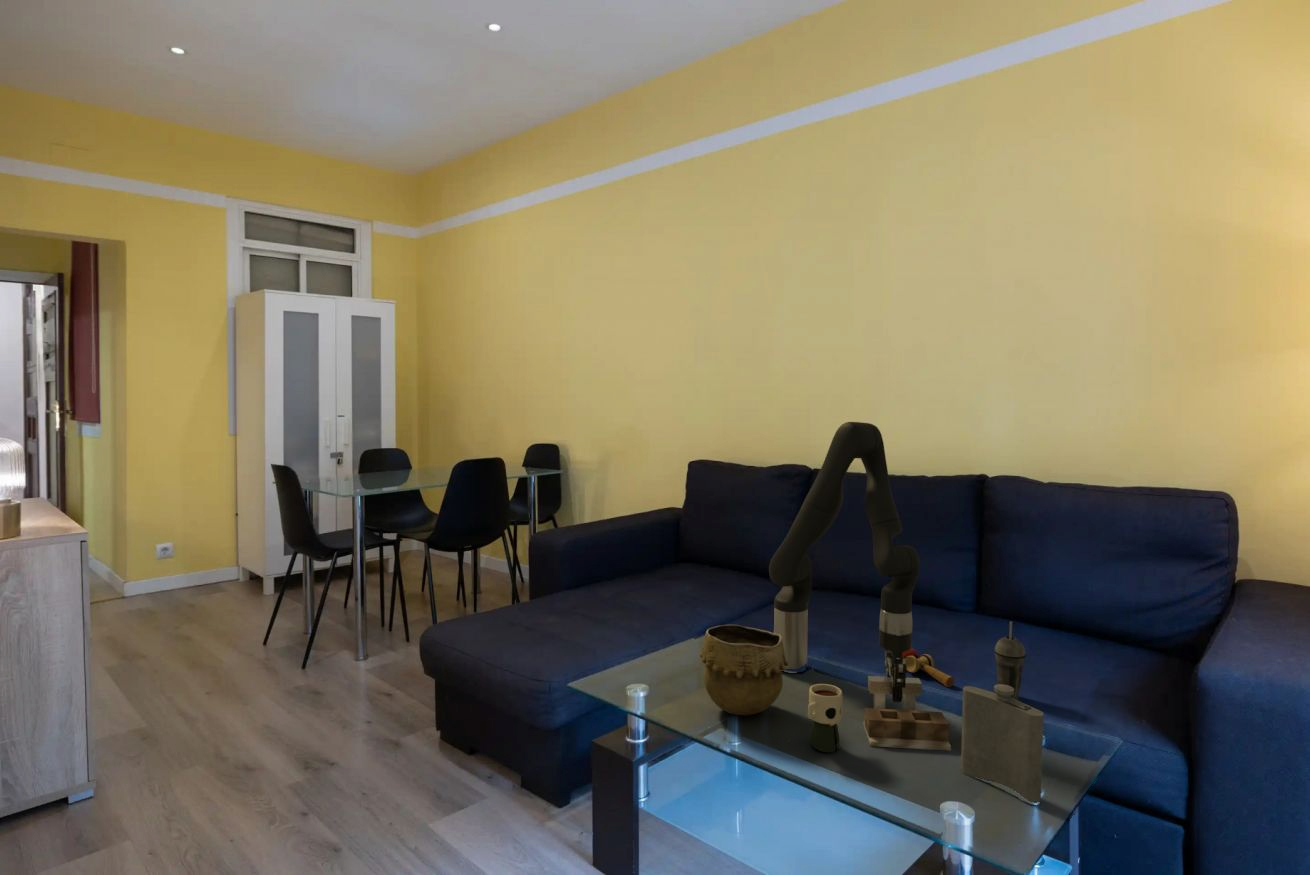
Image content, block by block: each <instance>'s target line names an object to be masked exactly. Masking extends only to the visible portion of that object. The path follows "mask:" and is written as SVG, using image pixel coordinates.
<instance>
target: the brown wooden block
mask: <svg viewBox="0 0 1310 875" xmlns="http://www.w3.org/2000/svg"><path fill="white" fill-rule="evenodd" d="M862 722H863V728H864V731H865V735H866V736H867V740H868V743H869V746H870V747H882V748H883V747H884V748H885V747H886V748H901V749H916V750H919V749H920V750H935V751H936V750H937V751H949V752H951V751H952V746H951V744H950V742H949V736H950V735H949V731H950V730H949V729H950V726H949V725H950V724H949V722H948V720H947V719H946V717H945V715H944V713H943V711H933V710H915V711H914V710H903V709H892V708H891V709H889V708H885V709H875V708H872V707H864V720H863V721H862Z"/></svg>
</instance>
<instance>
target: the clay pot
mask: <svg viewBox="0 0 1310 875" xmlns="http://www.w3.org/2000/svg"><path fill="white" fill-rule="evenodd" d="M701 648H702V649H701V651H700V653H699V657H700V659H701V661H702V663H703V664H705V668H704V669H705V670H704V676H703V677H704V678H703V680H704V686H705V690H706V692H707V694H708V697H710V699H711V700H712V702H713V703H714V704H715V705H716V706H717V707H718V708H719V709H721V710H722V711H724V712H726V713H728V714H730V715H734V716H735V715H736V716H753V715H755V714H758V713H761V712H764V711H765V710H768V708H769V707H770V706H772V705H773V704H774V703H775V701H776V700H777V699H778V697H779V696H780V694H781V692H782V689H783V682H784V681H783V675H782V674H783V672H781V670H782V671H784V670H785V666H788V664H789V663H788V662H787V661H786V658H785V654H784V646H783V641H782V637H781V635H780V634H774V632H771V631H768V630H763V629H759V628H754V627H747V626H743V625H739V624H722V625H721V624H720V625H717V626H712V627H710V628H708V629H706V631H705V635H704V639H703V644H702V647H701Z"/></svg>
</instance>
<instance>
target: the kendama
mask: <svg viewBox="0 0 1310 875" xmlns="http://www.w3.org/2000/svg"><path fill="white" fill-rule="evenodd" d="M903 657H905V664H906V666H907V668H906V671H907V672H908V673H909V672H910V673H916V672H918V670H920V671H922V672H924V673H927V674H928V675H929V676H931V677H932V678H933V679H935V680H937V681H938V682H939V683H941V684H942V685H944V686H945V687H946V688H950V687H952V686H953V684H954V681H955V679H954V677H952V676H951V675H949V674H946V673H944V672H943V671H940V670H939V669H938V668H935V661H934V659H933V657H932V656H931V655H930V654H926V653H924V654H923V653H922V654H920V655H919V654H918V652H917V651H916V650H915V649H914V648H913V647H912V648H911V649H910V650H909V651H905V652H903Z"/></svg>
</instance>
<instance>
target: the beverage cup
mask: <svg viewBox="0 0 1310 875" xmlns="http://www.w3.org/2000/svg"><path fill="white" fill-rule="evenodd" d="M1012 634H1013V621H1010V620H1009V636H1004V637H1001V638H1000V639H999V640H998V641H997V642H996V644H995V647H994V650H993V652H994V657H995V663H996V677H997V678H996V681H997V684H1003V685H1008V686H1011V687H1013V688H1014V694H1013V698H1014V699H1016V700H1018V701H1019V696H1020V693H1021V684H1022V675H1023V669H1024V668H1023V667H1024V664H1025V661H1026V660H1025V659H1026V657H1027V654H1026V649H1025V647H1024V645H1023V643H1022V641H1020V640H1019V639H1017V638H1016V637H1013V635H1012Z"/></svg>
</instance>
